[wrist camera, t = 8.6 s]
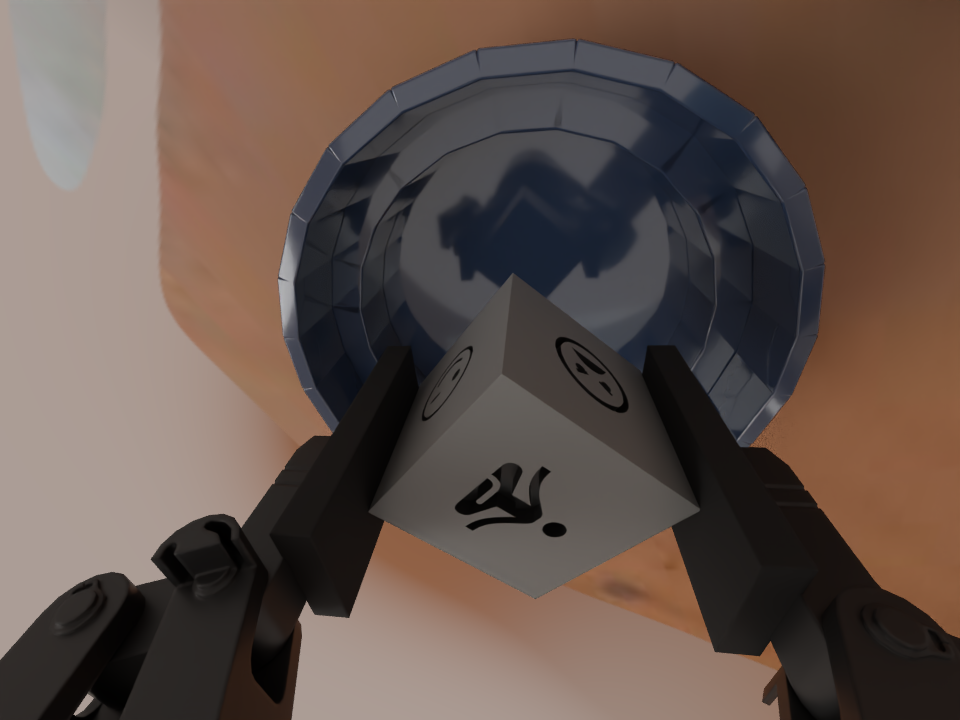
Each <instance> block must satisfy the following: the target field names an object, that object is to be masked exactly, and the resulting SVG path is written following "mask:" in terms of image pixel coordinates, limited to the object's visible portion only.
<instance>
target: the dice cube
mask: <svg viewBox="0 0 960 720" xmlns="http://www.w3.org/2000/svg"><path fill="white" fill-rule="evenodd" d="M699 511H700V507H699V505H698V503H697V501H696V498H695V496H694V494H693V491H692V489H691V487H690V484H689V482H688V480H687V478H686V475H685V473H684V471H683V468H682V466H681V464H680V461H679V459H678V457H677V454H676V452H675V450H674V448H673V445H672V443H671V441H670V438H669V436H668V434H667V431H666V429H665V427H664V425H663V422H662V420H661V418H660V415H659V413H658V411H657V408H656V406H655V404H654V402H653V399H652V397H651V395H650V392H649V390H648V388H647V385H646V383H645V381H644V379H643V376H642V373H641V371H640V370H639V369H638V368H636V367H635V366H634V365H632V364H631V363H630V362H628V361H627V360H626V359H625V358H623V357H622V356H621V355H619V354H618V353H617V352H615V351H614V350H613V349H611V348H610V347H609V346H608V345H606V344H605V343H604V342H602V341H601V340H600V339H598V338H597V337H596V336H595V335H593V334H592V333H591V332H589V331H588V330H587V329H585V328H584V327H583V326H582V325H580V324H579V323H578V322H576V321H575V320H574V319H572V318H571V317H570V316H569V315H567V314H566V313H565V312H563V311H562V310H561V309H559V308H558V307H557V306H555V305H554V304H553V303H552V302H550V301H549V300H548V299H546V298H545V297H544V296H542V295H541V294H540V293H539V292H537V291H536V290H535V289H533V288H532V287H531V286H529V285H528V284H527V283H526V282H524V281H523V280H522V279H520V278H519V277H518V276H516V275H515V274H514V273H512V274H511V276H510V277H509V278H508V279H507V280H506V282H505V283H504V284H503V285H502V286H501V288H500V289H499V290H498V291H497V293H496V294H495V295H494V296H493V297H492V299H491V300H490V301H489V302H488V303H487V305H486V306H485V307H484V308H483V309H482V311H481V312H480V313H479V314H478V316H477V317H476V318H475V319H474V320H473V322H472V323H471V324H470V325H469V326H468V328H467V329H466V330H465V331H464V332H463V334H462V335H461V336H460V337H459V338H458V340H457V341H456V342H455V343H454V345H453V346H452V347H451V348H450V349H449V351H448V352H447V353H446V354H445V355H444V357H443V358H442V359H441V360H440V361H439V363H438V364H437V365H436V366H435V368H434V369H433V370H432V371H431V372H430V374H429V375H428V376H427V377H426V378H425V380H424V381H423V382H422V383H421V384H420V386H419V389H418V392H417V394H416V397H415V399H414V402H413V404H412V406H411V409H410V411H409V414H408V416H407V419H406V421H405V423H404V426H403V428H402V431H401V433H400V436H399V438H398V440H397V443H396V445H395V448H394V450H393V453H392V455H391V458H390V460H389V462H388V465H387V467H386V470H385V472H384V475H383V477H382V479H381V482H380V484H379V487H378V489H377V492H376V494H375V496H374V499H373V501H372V504H371V506H370V509H369V511H368V512H369V513H371V514H373V515H375V516H376V517H378V518H380V519H382V520H384V521H386V522H388V523H390V524H392V525H394V526H396V527H398V528H400V529H401V530H403V531H406V532H407V533H409V534H411V535H413V536H415V537H417V538H419V539H421V540H423V541H425V542H427V543H428V544H430V545H432V546H434V547H436V548H438V549H440V550H442V551H444V552H446V553H448V554H450V555H452V556H453V557H455V558H457V559H459V560H461V561H463V562H465V563H467V564H469V565H471V566H473V567H475V568H477V569H479V570H481V571H482V572H484V573H486V574H488V575H490V576H492V577H494V578H496V579H498V580H500V581H502V582H504V583H506V584H508V585H509V586H511V587H513V588H515V589H517V590H519V591H521V592H523V593H525V594H527V595H529V596H531V597H532V598H534V599H536V598H538V597H540V596H542V595H544V594H546V593H548V592H550V591H552V590H553V589H555V588H557V587H559V586H561V585H563V584H565V583H566V582H568V581H570V580H572V579H574V578H576V577H578V576H579V575H581V574H583V573H585V572H587V571H589V570H591V569H593V568H594V567H596V566H598V565H600V564H602V563H604V562H606V561H607V560H609V559H611V558H613V557H615V556H617V555H619V554H620V553H622V552H624V551H626V550H628V549H630V548H632V547H634V546H635V545H637V544H639V543H641V542H643V541H645V540H647V539H648V538H650V537H652V536H654V535H656V534H658V533H660V532H661V531H663V530H665V529H667V528H669V527H671V526H673V525H675V524H676V523H678V522H680V521H682V520H684V519H686V518H688V517H689V516H691V515H693V514H695V513H697V512H699Z"/></svg>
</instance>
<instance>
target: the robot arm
mask: <svg viewBox="0 0 960 720" xmlns="http://www.w3.org/2000/svg"><path fill="white" fill-rule="evenodd" d="M642 376H643V379H644V381H645V383H646V385H647V388H648V390H649V392H650V395H651V397H652V399H653V402H654V404H655V406H656V408H657V411H658V413H659V415H660V418H661V420H662V422H663V425H664V427H665V429H666V431H667V434H668V436H669V438H670V441H671V443H672V445H673V448H674V450H675V452H676V454H677V457H678V459H679V461H680V464H681V466H682V468H683V471H684V473H685V475H686V478H687V480H688V482H689V484H690V487H691V489H692V491H693V494H694V496H695V498H696V501H697V503H698V505H699V507H700V511H699V512H697V513H695V514H693V515H691V516H689V517H688V518H686V519H684V520H682V521H680V522H678V523H676V524H675V525H673V526H672V529H673V532H674V535H675V538H676V541H677V544H678V547H679V549H680V552H681V555H682V558H683V561H684V564H685V567H686V570H687V573H688V575H689V578H690V581H691V584H692V587H693V590H694V593H695V596H696V599H697V601H698V604H699V607H700V610H701V613H702V616H703V619H704V622H705V625H706V627H707V630H708V633H709V636H710V639H711V642H712V645H713V648H714V651H715V652H721V653H732V654H742V655H753V656H760V655H761V654H762V652H763V651H764V649H765V648H766V647H767V645H768V644H769V642H770V641H771V643H772V645H773V647H774V649H775V651H776V653H777V656H778V658H779V660H780V662H781V664H782V666H781V668H780V669H779V670H778V672H777V673H776V674H775V675H774V677H773V678H772V679H771V681H770V682H769V683H768V684H767V686H766V687H765V688H764V693H763V700H762V702H763V703H766V704H767V705H770V704H771V703H772V702H773V701H774V700H775V699H776V697H777V696H778V705H779V714H780V720H960V639H959V638H957V637H954V636H952V635H950V634H947V633H946V632H945V631H944V630H943V629H942V628H941V627H940V626H939V625H938V624H937V623H936V622H935V621H934V620H933V619H932V618H931V617H930V616H929V615H927V614H926V613H924V612H923V611H922V610H920V609H919V608H917V607H916V606H914V605H913V604H911V603H910V602H908V601H907V600H905V599H904V598H901V597H899V596H897V595H895V594H892V593H890V592H888V591H886V590H883V589H881V587H880V586H879V585H878V584H877V583H876V582H875V581H874V579H873V578H872V577H871V575H870V574H869V573H868V571H867V570H866V569H865V567H864V566H863V565H862V563H861V562H860V561H859V559H858V558H857V557H856V555H855V554H854V553H853V551H852V550H851V549H850V547H849V546H848V545H847V543H846V542H845V541H844V539H843V538H842V537H841V535H840V534H839V532H838V531H837V530H836V528H835V527H834V526H833V524H832V523H831V522H830V520H829V519H828V518H827V516H826V515H825V514H824V512H823V511H822V510H821V509H818V507H817V503H816V502H815V500H814V499H813V498H812V496H811V495H810V494H809V492H808V491H805V490H804V486H803V484H802V483H801V481H800V480H799V479H798V477H797V476H796V475H795V473H794V472H793V471H792V469H791V468H790V467H789V465H787V464H786V463H785V462H783V461H782V460H781V459H779V458H778V457H777V456H776V455H774V454H773V453H772V452H770V451H769V450H768V449H766V448H759V447H740V446H739V444H738V443H737V441H736V440H735V438H734V437H733V435H732V434H731V432H730V430H729V429H728V427H727V426H726V424H725V423H724V421H723V419H722V418H721V416H720V415H719V413H718V412H717V410H716V409H715V407H714V405H713V404H712V402H711V401H710V399H709V398H708V396H707V394H706V393H705V391H704V390H703V388H702V387H701V385H700V383H699V382H698V380H697V379H696V377H695V376H694V374H693V373H692V371H691V369H690V368H689V366H688V365H687V363H686V362H685V360H684V358H683V357H682V355H681V354H680V352H679V351H678V349H677V347H676V346H675V345H647V351H646V356H645V362H644V367H643V373H642ZM418 389H419V388H418V382H417V377H416V371H415V366H414V360H413V355H412V349H411V346H387V348H386V349H385V351H384V353H383V354H382V356H381V357H380V359H379V361H378V362H377V364H376V365H375V367H374V368H373V370H372V372H371V373H370V375H369V376H368V378H367V380H366V381H365V383H364V384H363V386H362V388H361V389H360V391H359V392H358V394H357V395H356V397H355V399H354V400H353V402H352V403H351V405H350V407H349V408H348V410H347V411H346V413H345V415H344V416H343V418H342V419H341V421H340V422H339V424H338V426H337V427H336V429H335V430H334V432H333V434H332V435H331V436H313V437H312V438H311V439H310V440H308V441H307V442H306V443H305V444H303V445H302V446H301V447H300V448H298V449H297V450H296V452H295V453H294V454H293V456H292V457H291V459H290V460H289V461H288V463H287V464H286V466H285V470H282V471H281V473H280V474H279V476H278V477H277V478H276V480H275V484H272V485H271V487H270V488H269V490H268V491H267V493H266V494H265V496H264V497H263V498H262V500H261V501H260V502H259V504H258V505H257V507H256V508H255V510H254V511H253V512H252V514H251V515H250V517H249V518H248V520H247V521H246V522H245V524H244V525H243V527H242V528H241V527H240V526H239V524H238V523H237V521H236V520H235V518H234V517H231V516H228V515H225V514H218V515H209V516H206V517H203V518H200V519H197V520H195V521H192V522H190V523H189V524H187V525H186V526H184V527H182V528H181V529H179V530H177V531H176V532H175V533H174V534H173V535H171V536H170V537H169V538H168V539H167V540H166V541H165V542H163V543H162V544H161V546H160V547H159V548H158V550H157V551H156V553H155V554H154V555H153V557H152V558H151V560H152V561H153V563H155V565H156V566H157V567H158V568H159V569H160V571H162V573H163V574H164V575H165V576H166V577H167V578H166V579H162V580H158V581H154V582H150V583H145V584H141V585H138V586H135V585H134V584H133V583H132V582H131V581H130V580H129V579H128V578H127V577H126V576H125V575H124V574H120V573H115V572H110V573H105V574H101V575H96V576H94V577H92V578H90V579H88V580H85V581H84V582H81V583H79V584H77V585H76V586H74V587H73V588H71V589H70V590H68V591H67V592H65V593H64V594H63V595H61V596H60V597H58V598H57V599H56V600H55V601H54V602H53V603H52V604H51V605H50V606H49V607H48V608H47V609H46V610H45V611H44V612H43V613H42V614H41V615H40V616H39V617H38V618H37V619H36V620H35V622H34V623H33V624H32V625H31V626H30V627H29V628H28V630H27V631H26V632H25V633H24V634H23V635H22V636H21V638H20V639H19V640H18V641H17V642H16V643H15V644H14V645H13V646H12V647H11V649H10V650H9V651H8V652H7V653H6V654H5V656H4V657H3V658H2V659H1V660H0V720H291V718H292V710H293V702H294V694H295V687H296V678H297V671H298V662H299V654H300V647H301V639H302V632H301V624H300V623H299V621H298V618H299V616H300V614H301V612H302V609H303V607H304V605H305V603H306V601H307V602H308V604H309V606H310V607H311V609H312V611H313V613H314V614H315V615H325V616H335V617H346V618H349V616H350V613H351V611H352V608H353V605H354V603H355V600H356V597H357V594H358V592H359V589H360V586H361V583H362V580H363V578H364V575H365V572H366V570H367V567H368V564H369V561H370V559H371V556H372V553H373V550H374V548H375V545H376V542H377V539H378V537H379V534H380V531H381V528H382V526H383V523H384V520H382V519H380V518H378V517H376V516H375V515H373V514H371V513H369V512H368V511H369V509H370V506H371V504H372V501H373V499H374V496H375V494H376V492H377V489H378V487H379V484H380V482H381V479H382V477H383V475H384V472H385V470H386V467H387V465H388V462H389V460H390V458H391V455H392V453H393V450H394V448H395V445H396V443H397V440H398V438H399V436H400V433H401V431H402V428H403V426H404V423H405V421H406V419H407V416H408V414H409V411H410V409H411V406H412V404H413V402H414V399H415V397H416V394H417V392H418ZM87 693H88V694H89V695H91V696H92V697H93V698H94V699H93V701H92V702H91V703H90V704H89V705H88V706H87V707H86V709H85V710H84V711H82V712H81V713H79V714H78V715H76V716H75V715H73V714H74V713H75V711H76V710H77V708H78V707H79V705H80V704H81V702H82V701H83V699H84V698H85V696H86V695H87Z"/></svg>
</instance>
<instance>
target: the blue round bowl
mask: <svg viewBox="0 0 960 720" xmlns="http://www.w3.org/2000/svg"><path fill="white" fill-rule="evenodd" d="M824 263H825V259H824V255H823V251H822V247H821V243H820V239H819V235H818V231H817V227H816V223H815V219H814V215H813V211H812V207H811V203H810V199H809V195H808V191H807V188H806V187H805V183H804V182H803V180H802V179H801V177H800V176H799V175H798V173H797V172H796V170H795V169H794V167H793V166H792V165H791V163H790V162H789V160H788V159H787V158H786V156H785V155H784V153H783V152H782V151H781V149H780V148H779V146H778V145H777V143H776V142H775V141H774V139H773V138H772V136H771V135H770V134H769V132H768V131H767V129H766V128H765V126H764V125H763V124H762V122H761V121H760V119H759V118H758V117H757V116H755V114H754V113H753V112H752V111H750V110H749V109H747V108H746V107H744V106H743V105H741V104H740V103H738V102H737V101H735V100H734V99H732V98H731V97H729V96H728V95H726V94H725V93H723V92H722V91H720V90H719V89H717V88H716V87H714V86H713V85H711V84H710V83H708V82H706V81H705V80H703V79H702V78H700V77H699V76H697V75H696V74H694V73H693V72H691V71H690V70H688V69H687V68H685V67H684V66H682V65H681V64H679V63H675V62H674V61H672V60H668V59H664V58H659V57H655V56H651V55H647V54H642V53H638V52H634V51H630V50H626V49H621V48H617V47H613V46H609V45H605V44H600V43H596V42H592V41H588V40H583V39H578V40H576V39H575V38H572V39H563V40H553V41H543V42H533V43H524V44H514V45H504V46H494V47H485V48H479V49H477V51H476V50H472V51H470V52H468V53H465V54H463V55H461V56H459V57H457V58H454V59H452V60H450V61H448V62H446V63H443V64H441V65H439V66H437V67H435V68H432V69H430V70H428V71H426V72H424V73H421V74H419V75H417V76H415V77H413V78H410V79H408V80H406V81H404V82H402V83H399V84H397V85H395V86H393V87H392V88H391V89H389V90H387V91H386V92H385V93H384V94H383V95H382V96H381V97H380V98H378V99H377V100H376V101H375V102H374V103H373V104H372V105H371V106H370V107H369V108H368V109H367V110H366V111H364V112H363V113H362V114H361V115H360V116H359V117H358V118H357V119H356V120H355V121H354V122H353V123H352V124H350V125H349V126H348V127H347V128H346V129H345V130H344V131H343V132H342V133H341V134H340V135H339V136H338V137H336V138H335V139H334V140H333V141H332V142H331V143H330V144H329V146H328V147H327V148H326V149H325V151H324V153H323V155H322V157H321V159H320V160H319V162H318V164H317V166H316V168H315V169H314V171H313V173H312V175H311V177H310V178H309V180H308V182H307V184H306V186H305V187H304V189H303V191H302V193H301V195H300V196H299V198H298V200H297V202H296V204H295V205H294V207H293V209H292V213H291V214H290V219H289V224H288V229H287V234H286V239H285V244H284V249H283V254H282V259H281V264H280V269H279V274H278V287H279V298H280V309H281V320H282V330H283V337H284V340H285V343H286V346H287V348H288V351H289V354H290V356H291V359H292V362H293V364H294V367H295V370H296V372H297V375H298V378H299V380H300V383H301V386H302V388H304V389H303V390H304V392H305V393H306V395H307V396H308V397H309V399H310V400H311V402H312V403H313V405H314V406H315V408H316V409H317V411H318V412H319V414H320V415H321V417H322V418H323V420H324V421H325V423H326V424H327V426H328V427H329V428H330V430H331V431H333V432H334V430H335V429H336V427H337V426H338V424H339V422H340V421H341V419H342V418H343V416H344V415H345V413H346V411H347V410H348V408H349V407H350V405H351V403H352V402H353V400H354V399H355V397H356V395H357V394H358V392H359V391H360V389H361V388H362V386H363V384H364V383H365V381H366V380H367V378H368V376H369V375H370V373H371V372H372V370H373V368H374V367H375V365H376V364H377V362H378V361H379V359H380V357H381V356H382V354H383V353H384V351H385V349H386V348H387V346H411V349H412V355H413V360H414V366H415V371H416V377H417V382H418V388H419V386H420V384H421V383H422V382H423V381H424V380H425V378H426V377H427V376H428V375H429V374H430V372H431V371H432V370H433V369H434V368H435V366H436V365H437V364H438V363H439V361H440V360H441V359H442V358H443V357H444V355H445V354H446V353H447V352H448V351H449V349H450V348H451V347H452V346H453V345H454V343H455V342H456V341H457V340H458V338H459V337H460V336H461V335H462V334H463V332H464V331H465V330H466V329H467V328H468V326H469V325H470V324H471V323H472V322H473V320H474V319H475V318H476V317H477V316H478V314H479V313H480V312H481V311H482V309H483V308H484V307H485V306H486V305H487V303H488V302H489V301H490V300H491V299H492V297H493V296H494V295H495V294H496V293H497V291H498V290H499V289H500V288H501V286H502V285H503V284H504V283H505V282H506V280H507V279H508V278H509V277H510V276H511V274H512V273H514V274H515V275H516V276H518V277H519V278H520V279H522V280H523V281H524V282H526V283H527V284H528V285H529V286H531V287H532V288H533V289H535V290H536V291H537V292H539V293H540V294H541V295H542V296H544V297H545V298H546V299H548V300H549V301H550V302H552V303H553V304H554V305H555V306H557V307H558V308H559V309H561V310H562V311H563V312H565V313H566V314H567V315H569V316H570V317H571V318H572V319H574V320H575V321H576V322H578V323H579V324H580V325H582V326H583V327H584V328H585V329H587V330H588V331H589V332H591V333H592V334H593V335H595V336H596V337H597V338H598V339H600V340H601V341H602V342H604V343H605V344H606V345H608V346H609V347H610V348H611V349H613V350H614V351H615V352H617V353H618V354H619V355H621V356H622V357H623V358H625V359H626V360H627V361H628V362H630V363H631V364H632V365H634V366H635V367H636V368H638V369H639V370H640V371H641V373H643V367H644V362H645V356H646V351H647V345H675V346H676V347H677V349H678V351H679V352H680V354H681V355H682V357H683V358H684V360H685V362H686V363H687V365H688V366H689V368H690V369H691V371H692V373H693V374H694V376H695V377H696V379H697V380H698V382H699V383H700V385H701V387H702V388H703V390H704V391H705V393H706V394H707V396H708V398H709V399H710V401H711V402H712V404H713V405H714V407H715V409H716V410H717V412H718V413H719V415H720V416H721V418H722V419H723V421H724V423H725V424H726V426H727V427H728V429H729V430H730V432H731V434H732V435H733V437H734V438H735V440H736V441H737V443H738V444H739V446H740V447H750V445H751V444H753V443H754V441H755V440H756V439H757V438H758V436H759V435H760V434H761V433H762V431H763V430H764V429H765V428H766V427H767V425H768V424H769V423H770V422H771V420H772V419H773V418H774V417H775V415H776V414H777V413H778V412H779V410H780V409H781V408H782V407H783V406H784V404H785V403H786V402H787V401H788V399H789V398H790V396H791V395H792V394H793V391H794V389H795V387H796V385H797V382H798V380H799V378H800V376H801V373H802V371H803V369H804V366H805V364H806V362H807V360H808V357H809V355H810V353H811V351H812V348H813V346H814V344H815V341H816V339H817V337H818V335H817V334H818V331H819V321H820V312H821V302H822V293H823V283H824V274H825V264H824ZM333 432H332V433H333Z"/></svg>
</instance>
